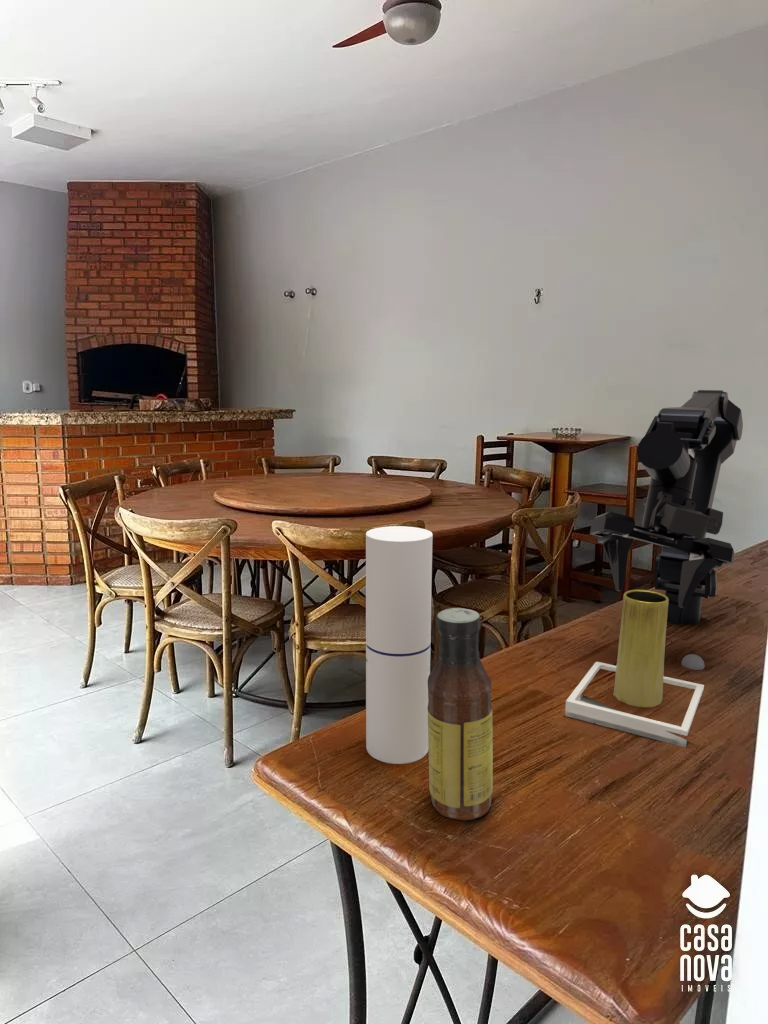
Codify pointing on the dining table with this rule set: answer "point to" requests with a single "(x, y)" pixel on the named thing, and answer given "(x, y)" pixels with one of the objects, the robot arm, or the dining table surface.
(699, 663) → the mixing ball
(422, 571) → the cylindrical container
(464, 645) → the sauce bottle
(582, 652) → the dining table surface
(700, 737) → the dining table surface
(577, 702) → the tray
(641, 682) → the vase
